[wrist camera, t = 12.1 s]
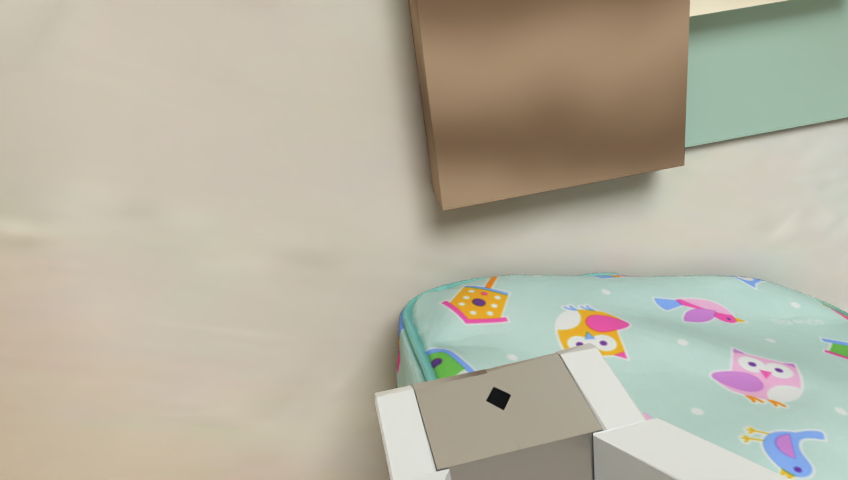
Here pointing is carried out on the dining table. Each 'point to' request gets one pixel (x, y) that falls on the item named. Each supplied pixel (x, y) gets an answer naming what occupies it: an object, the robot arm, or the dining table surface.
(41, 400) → the dining table surface
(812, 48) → the sage mat
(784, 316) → the lunch box
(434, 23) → the walnut deck
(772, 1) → the birch tile
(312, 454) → the dining table surface
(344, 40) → the dining table surface
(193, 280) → the dining table surface
